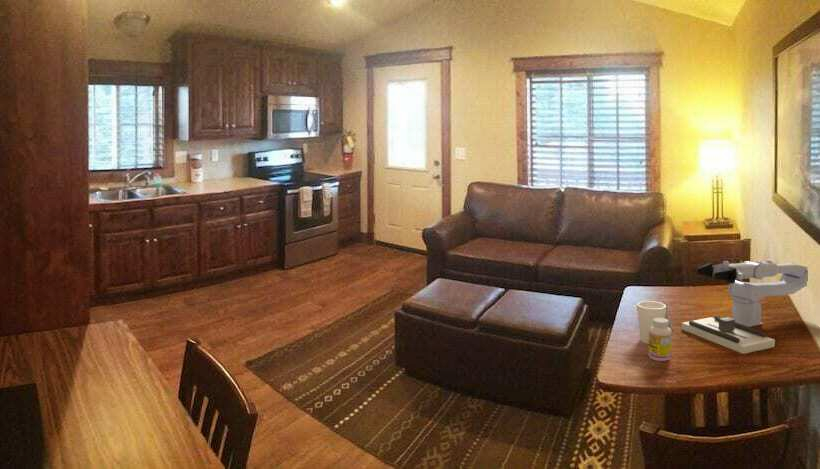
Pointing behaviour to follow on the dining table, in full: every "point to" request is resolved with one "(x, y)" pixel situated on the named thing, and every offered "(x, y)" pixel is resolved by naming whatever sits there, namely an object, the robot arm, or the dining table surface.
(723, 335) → the dark grey guard rails
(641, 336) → the foam cup
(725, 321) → the block
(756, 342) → the panel
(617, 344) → the dining table surface
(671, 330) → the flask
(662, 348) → the supplement bottle
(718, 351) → the dining table surface
